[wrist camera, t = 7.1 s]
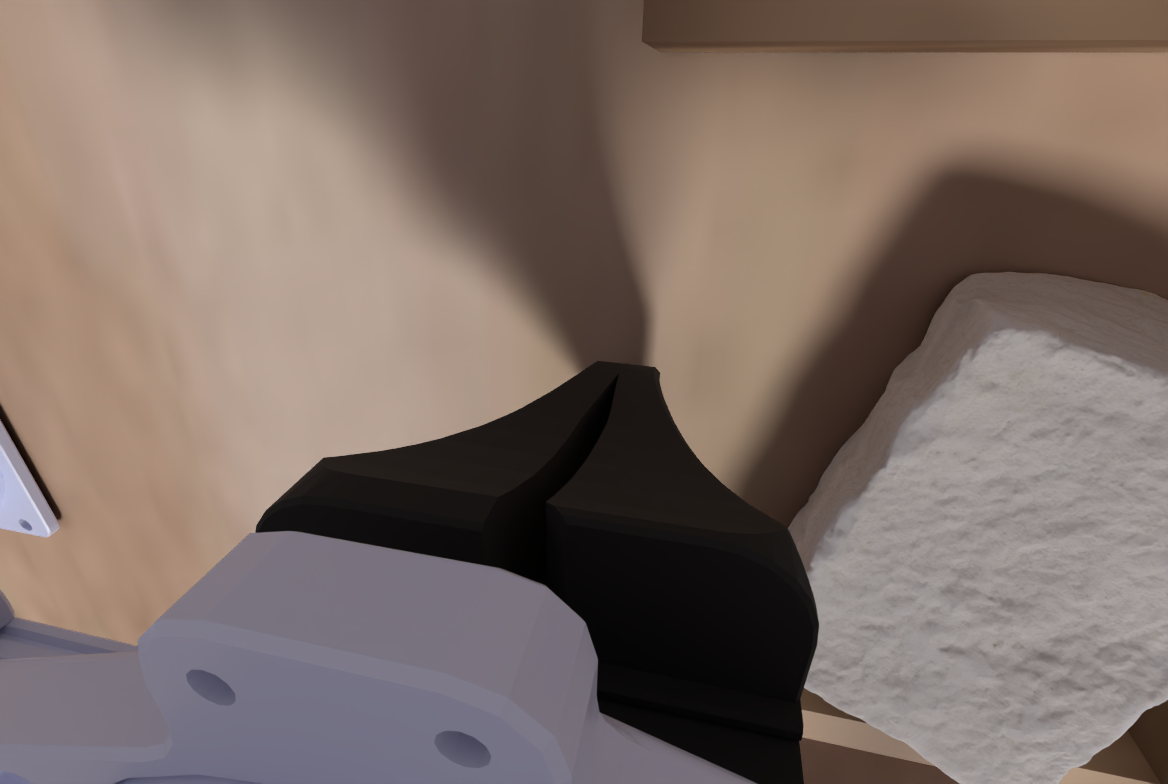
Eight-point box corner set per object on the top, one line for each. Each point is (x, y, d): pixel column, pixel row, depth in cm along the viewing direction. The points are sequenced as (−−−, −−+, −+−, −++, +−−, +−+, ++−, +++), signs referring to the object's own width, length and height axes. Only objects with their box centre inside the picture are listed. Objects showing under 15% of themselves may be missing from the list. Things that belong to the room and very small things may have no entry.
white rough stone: (940, 252, 13) (1032, 191, 8) (1247, 372, 12) (1624, 394, 6) (743, 583, 16) (713, 705, 10) (974, 725, 14) (1082, 961, 9)
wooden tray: (624, 615, 16) (604, 713, 14) (666, -20, 9) (641, -62, 7) (1121, 709, 14) (1211, 850, 11) (1699, -45, 7) (2287, -123, 4)
